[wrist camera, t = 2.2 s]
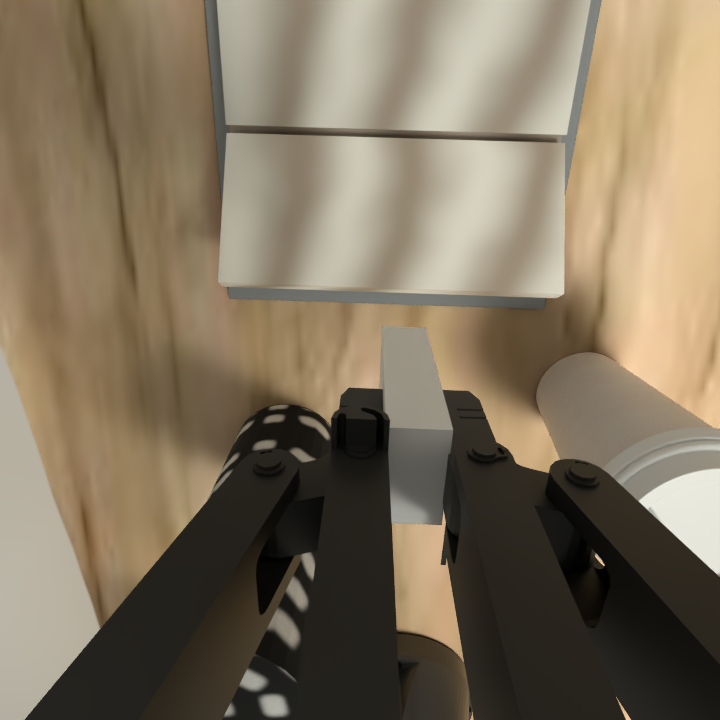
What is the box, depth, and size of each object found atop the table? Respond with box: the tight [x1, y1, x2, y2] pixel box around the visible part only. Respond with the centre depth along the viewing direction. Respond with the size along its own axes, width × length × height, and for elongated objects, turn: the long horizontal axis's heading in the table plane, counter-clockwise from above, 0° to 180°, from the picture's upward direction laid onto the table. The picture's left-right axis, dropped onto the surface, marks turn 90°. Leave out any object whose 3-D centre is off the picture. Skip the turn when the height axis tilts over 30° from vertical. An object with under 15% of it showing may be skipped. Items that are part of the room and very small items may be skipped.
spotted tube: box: [208, 405, 331, 720], centre depth 31 cm, size 8×8×20 cm
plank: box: [218, 133, 565, 298], centre depth 29 cm, size 20×9×1 cm, turn 88°
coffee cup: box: [536, 352, 720, 577], centre depth 30 cm, size 10×10×15 cm
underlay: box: [205, 0, 601, 309], centre depth 30 cm, size 22×21×1 cm
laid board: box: [217, 0, 591, 143], centre depth 28 cm, size 20×10×1 cm, turn 88°
